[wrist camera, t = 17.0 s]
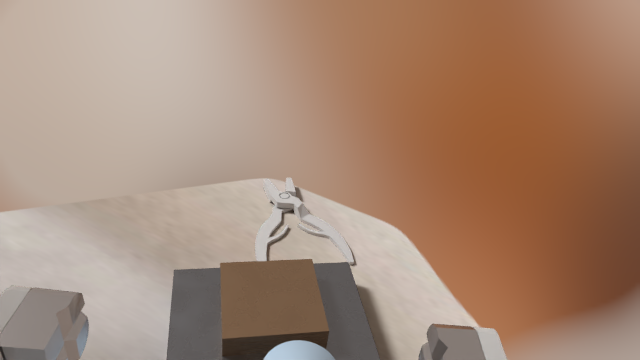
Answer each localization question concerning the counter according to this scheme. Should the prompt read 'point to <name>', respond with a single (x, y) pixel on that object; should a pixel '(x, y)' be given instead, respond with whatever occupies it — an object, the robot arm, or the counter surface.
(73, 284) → the counter surface
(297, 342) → the peg
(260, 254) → the pliers
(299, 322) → the rack
